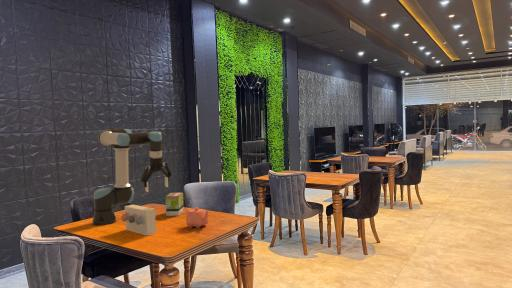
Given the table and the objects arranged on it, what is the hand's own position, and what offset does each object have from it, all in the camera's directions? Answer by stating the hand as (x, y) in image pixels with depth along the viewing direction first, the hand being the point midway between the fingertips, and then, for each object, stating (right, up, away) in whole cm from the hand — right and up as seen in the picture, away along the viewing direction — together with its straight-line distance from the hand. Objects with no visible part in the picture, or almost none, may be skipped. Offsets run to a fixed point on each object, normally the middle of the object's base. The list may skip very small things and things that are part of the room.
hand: (157, 189), depth 227 cm
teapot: (+26, -25, +3) cm, 36 cm away
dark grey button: (-7, -19, -13) cm, 24 cm away
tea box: (+2, -24, +42) cm, 48 cm away
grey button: (-13, -19, -8) cm, 25 cm away
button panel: (-9, -26, -3) cm, 28 cm away
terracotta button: (-19, -19, -3) cm, 28 cm away
